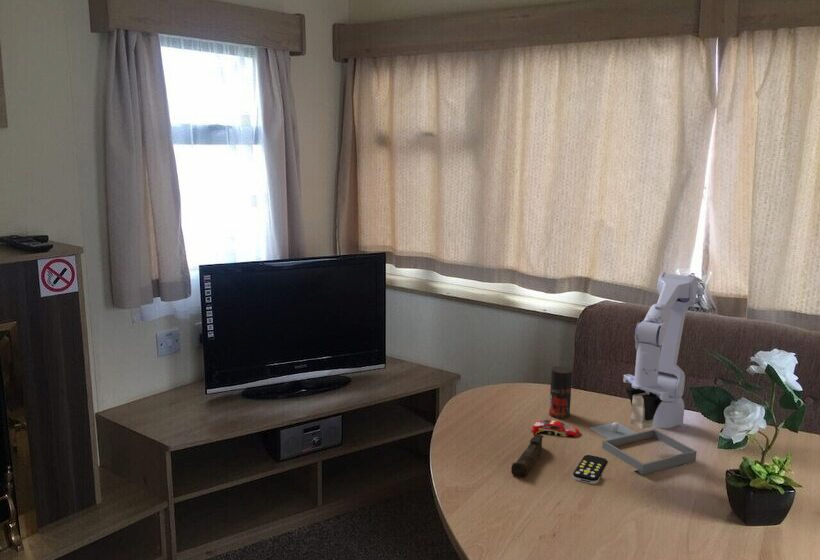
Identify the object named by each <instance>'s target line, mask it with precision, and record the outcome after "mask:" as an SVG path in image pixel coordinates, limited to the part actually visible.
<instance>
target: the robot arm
mask: <svg viewBox="0 0 820 560" xmlns="http://www.w3.org/2000/svg"><path fill="white" fill-rule="evenodd" d="M656 286H657V287H656V290H657V292H658V295H659V297H658V300H657V302H656V303H654V304H652V305H651V306H650V308H649V309H648V311H647V313H646V315H645V317H644V319H643V320H642V321H641V322H638V323H637V324H636V327H635V332H634V341H635V343H634V346H635V350H636V357H635V368H634V375H632V374H630V373H627V374H623V378H622V379H623V380H622V381H623V383H625V384H626V383H627V384H629V385H628V386H626V387H625V392H626V393H627V395H628V398H629V400H630V405H631V406H632V400H633V395H635V394H640V393H647V395H643V400H644V404H645V420H647V421H649V420H653V418H654V423H653V427H654V428H659V429H672V428H673V427H675V426H680V427H682V428H685V427H686V426H685V425H683V424H684V415H685V402H684V400H683V398H682V397H683V394H684V390H685V385H686V384H685V383H686V382H685V379H686V375H685V372H684V371H683V369H682V368H681V367H679V365H677V363H678V358H679V357H678V356H679V352H680V345H681V342H682V341H681V340H682V337H683V336H682V335H683V329H684V323H685V318H686V314H687V311H688V308H691V307H694V306H695V303H696V299H697V294H698V290H699V280H698V278H697V276H694V275H693V276H690V275H682V274H675V273H673V274H672V273H666V272H661V274H659V277H658V279H657V285H656ZM664 373H665V374H664ZM673 375H674V376H673Z"/></svg>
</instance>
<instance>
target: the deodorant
mask: <svg viewBox="0 0 820 560" xmlns="http://www.w3.org/2000/svg"><path fill="white" fill-rule="evenodd" d="M550 371H551V374H550V390H549V391H550V392H549V394H550V395H549V405H548V406H549V409H548V410H549V411H548V415H549V417H550V418H554V419H557V420H565V419H568V418H570V417H571V416H570V414H571V397H572V385H573V383H572V381H573V369H572V368H570V367H569V366H563V365H560V366H558V365H556V366H553V367H552V368H551V370H550Z"/></svg>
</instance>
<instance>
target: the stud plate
mask: <svg viewBox="0 0 820 560" xmlns="http://www.w3.org/2000/svg"><path fill="white" fill-rule="evenodd" d="M589 429H590V430H591V431H593V432H595V433H597V434H598V435H600V436H601V437H604V438H605V439H606V440H608V439H612V438H617V437H621V436H625V435H630V434H634V433H637V431H635V430H633V429H630V428H629V427H627V426H625V425H624V424H621V423H620V422H618V421H615V422H610V423H605V424H600V425H596V426H591V427H589Z"/></svg>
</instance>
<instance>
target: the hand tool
mask: <svg viewBox="0 0 820 560" xmlns="http://www.w3.org/2000/svg"><path fill="white" fill-rule="evenodd" d="M541 435H542V434H541V433H539V434H538V435H535V434H534V436H533V437H532V438H530V441H529V444H528V445H527V447H526V449H524V451H523V452H522V454H521V455H520V457H519V458H518V459H517V460H516V462H513V463H512V464H511V467H510V468H511V470H510V471H511V474H512V476H513V477H518V478H522V479H523V478H526V476H527V473H528V472H529V469H530V468H531V466H532V465H533V464H534V462H535V460H536V458H538V457H539V456H540V455H541V452H542V446H543V437H542V436H543V435H542V436H541Z"/></svg>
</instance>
